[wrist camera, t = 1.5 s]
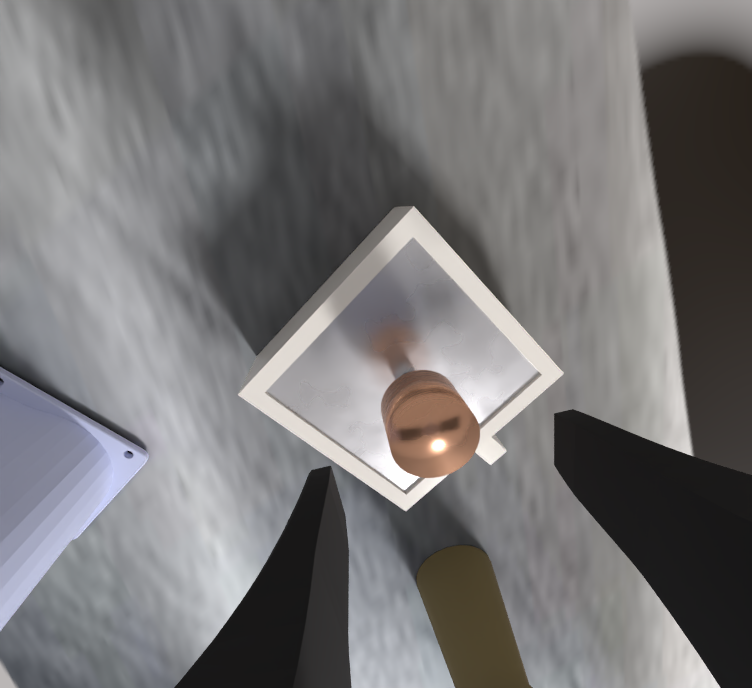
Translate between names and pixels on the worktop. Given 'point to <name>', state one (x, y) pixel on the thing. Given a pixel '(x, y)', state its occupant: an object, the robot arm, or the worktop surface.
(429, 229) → the white shallow open box
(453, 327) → the copper knob lid
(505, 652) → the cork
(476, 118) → the worktop surface
